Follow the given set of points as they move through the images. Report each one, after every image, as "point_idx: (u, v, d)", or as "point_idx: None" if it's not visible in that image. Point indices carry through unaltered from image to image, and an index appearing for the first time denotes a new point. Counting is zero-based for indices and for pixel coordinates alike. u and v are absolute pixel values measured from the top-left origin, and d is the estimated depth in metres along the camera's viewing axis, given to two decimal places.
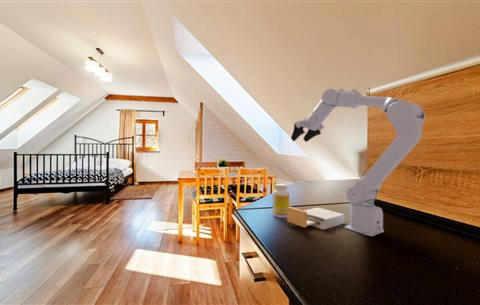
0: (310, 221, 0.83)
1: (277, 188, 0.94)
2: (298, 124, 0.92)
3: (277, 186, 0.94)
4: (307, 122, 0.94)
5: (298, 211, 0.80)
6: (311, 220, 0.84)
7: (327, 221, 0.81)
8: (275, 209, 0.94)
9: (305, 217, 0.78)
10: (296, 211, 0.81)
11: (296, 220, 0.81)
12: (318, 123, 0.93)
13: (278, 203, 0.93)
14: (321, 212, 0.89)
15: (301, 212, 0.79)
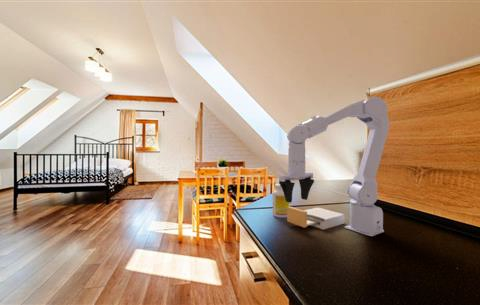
0: (310, 221, 0.83)
1: (277, 188, 0.94)
2: (281, 177, 0.77)
3: (277, 186, 0.94)
4: (290, 173, 0.80)
5: (298, 211, 0.80)
6: (311, 220, 0.84)
7: (327, 221, 0.81)
8: (275, 209, 0.94)
9: (305, 217, 0.78)
10: (296, 211, 0.81)
11: (296, 220, 0.81)
12: (301, 166, 0.78)
13: (278, 203, 0.93)
14: (321, 212, 0.89)
15: (301, 212, 0.79)
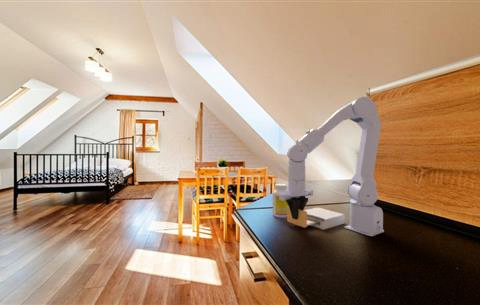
0: (310, 221, 0.83)
1: (277, 188, 0.94)
2: (281, 196, 0.77)
3: (277, 186, 0.94)
4: (290, 191, 0.80)
5: None
6: (311, 220, 0.84)
7: (327, 221, 0.81)
8: (275, 209, 0.94)
9: (305, 217, 0.78)
10: None
11: (296, 220, 0.81)
12: (301, 185, 0.78)
13: (278, 203, 0.93)
14: (321, 212, 0.89)
15: (301, 212, 0.79)
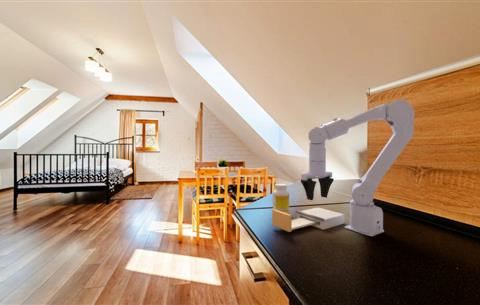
0: (296, 225, 0.79)
1: (277, 188, 0.94)
2: (304, 176, 0.81)
3: (277, 186, 0.94)
4: (311, 172, 0.84)
5: (283, 214, 0.76)
6: (297, 224, 0.80)
7: (327, 221, 0.81)
8: (275, 209, 0.94)
9: (289, 221, 0.74)
10: (281, 214, 0.77)
11: (281, 224, 0.77)
12: (322, 166, 0.82)
13: (278, 203, 0.93)
14: (321, 212, 0.89)
15: (286, 215, 0.75)
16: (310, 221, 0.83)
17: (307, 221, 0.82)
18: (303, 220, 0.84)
